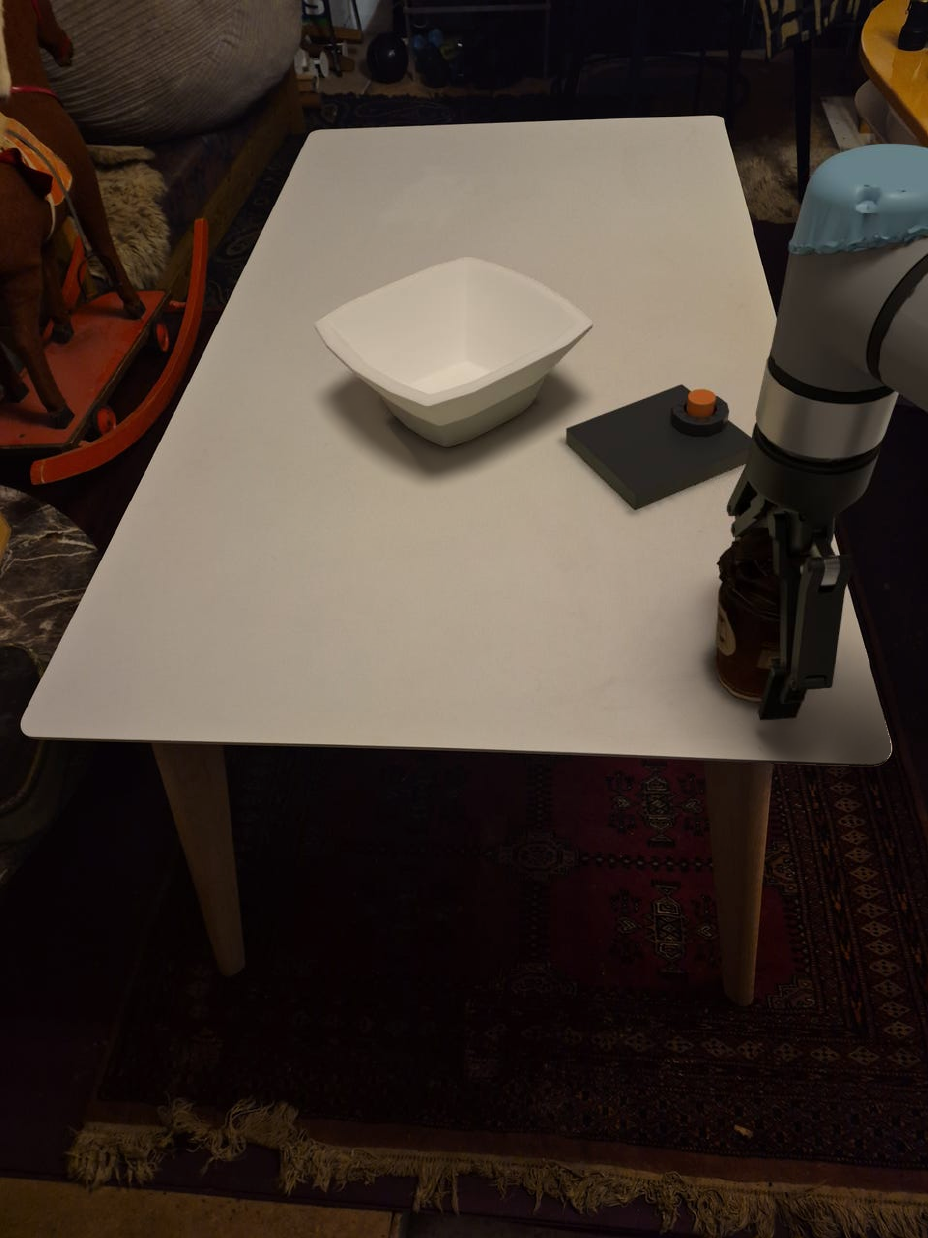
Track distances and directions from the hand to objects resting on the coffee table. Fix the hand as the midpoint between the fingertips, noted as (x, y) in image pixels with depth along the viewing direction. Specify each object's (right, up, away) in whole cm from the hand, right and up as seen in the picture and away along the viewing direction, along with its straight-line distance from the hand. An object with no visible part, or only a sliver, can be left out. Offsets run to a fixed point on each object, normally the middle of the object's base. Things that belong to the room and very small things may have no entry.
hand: (755, 653), depth 69 cm
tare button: (+1, +25, +21) cm, 32 cm away
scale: (-3, +21, +22) cm, 30 cm away
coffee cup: (0, -2, +2) cm, 2 cm away
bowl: (-24, +28, +31) cm, 48 cm away
